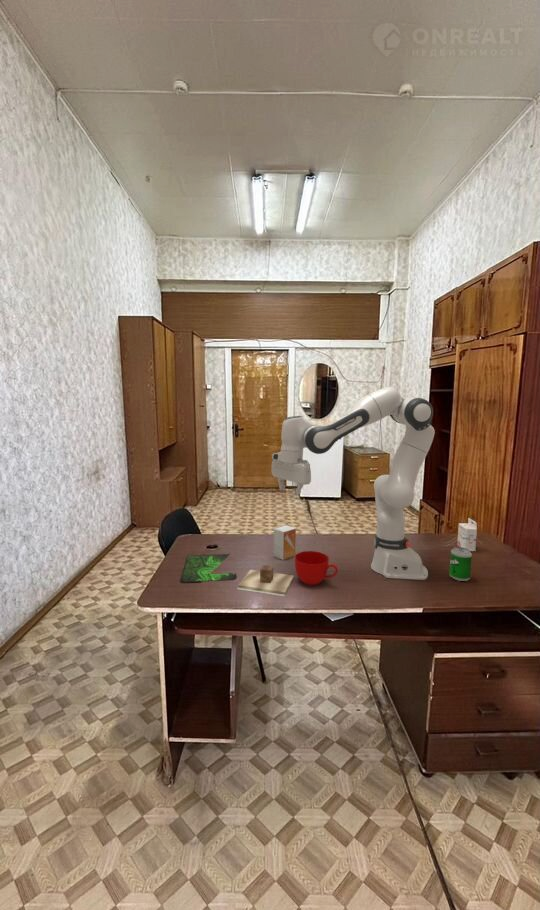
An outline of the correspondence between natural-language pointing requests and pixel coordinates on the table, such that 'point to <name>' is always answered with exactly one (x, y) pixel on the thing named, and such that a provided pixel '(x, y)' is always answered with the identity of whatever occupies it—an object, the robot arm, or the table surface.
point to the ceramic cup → (312, 567)
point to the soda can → (460, 564)
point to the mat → (261, 591)
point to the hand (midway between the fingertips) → (289, 491)
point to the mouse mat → (204, 569)
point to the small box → (284, 542)
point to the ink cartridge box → (467, 535)
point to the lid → (266, 581)
